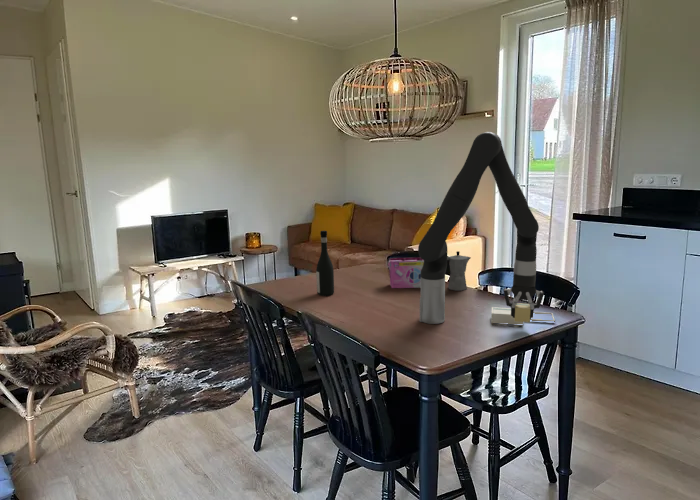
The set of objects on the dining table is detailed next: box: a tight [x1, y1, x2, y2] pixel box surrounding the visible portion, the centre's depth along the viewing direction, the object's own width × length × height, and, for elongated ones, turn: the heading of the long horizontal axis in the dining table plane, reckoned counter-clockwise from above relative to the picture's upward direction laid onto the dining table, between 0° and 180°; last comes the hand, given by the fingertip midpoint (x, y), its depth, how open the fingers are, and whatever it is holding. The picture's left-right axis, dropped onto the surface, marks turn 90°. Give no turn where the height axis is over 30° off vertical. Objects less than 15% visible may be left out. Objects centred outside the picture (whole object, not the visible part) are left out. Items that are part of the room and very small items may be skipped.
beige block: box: [514, 302, 531, 323], centre depth 184 cm, size 5×6×5 cm
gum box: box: [387, 256, 424, 289], centre depth 250 cm, size 24×8×14 cm, turn 91°
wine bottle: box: [315, 230, 335, 297], centre depth 236 cm, size 8×8×30 cm
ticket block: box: [490, 306, 524, 326], centre depth 194 cm, size 12×10×4 cm
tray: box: [530, 311, 556, 323], centre depth 197 cm, size 11×10×1 cm
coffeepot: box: [445, 250, 472, 291], centre depth 242 cm, size 15×9×18 cm, turn 104°
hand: (521, 317), depth 185 cm, fingers closed on beige block, 5 cm apart
